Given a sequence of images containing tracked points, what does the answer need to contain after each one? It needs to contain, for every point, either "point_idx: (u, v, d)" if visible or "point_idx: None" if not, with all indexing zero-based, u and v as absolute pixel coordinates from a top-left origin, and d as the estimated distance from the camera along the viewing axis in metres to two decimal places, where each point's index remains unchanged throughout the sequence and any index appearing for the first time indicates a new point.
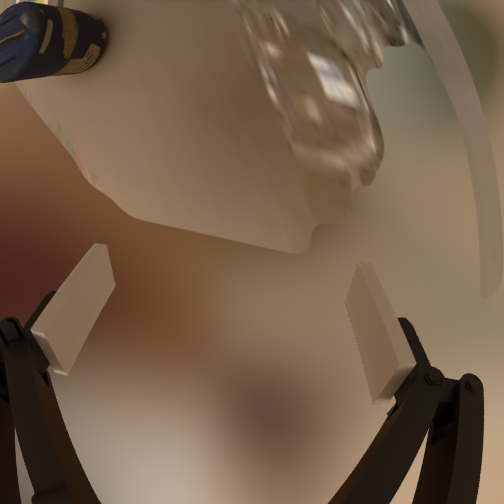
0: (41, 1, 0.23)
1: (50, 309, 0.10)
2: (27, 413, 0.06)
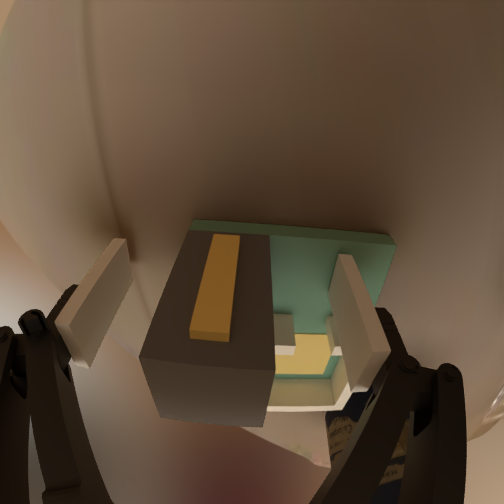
0: (307, 340, 0.19)
1: (74, 302, 0.11)
2: (45, 408, 0.07)
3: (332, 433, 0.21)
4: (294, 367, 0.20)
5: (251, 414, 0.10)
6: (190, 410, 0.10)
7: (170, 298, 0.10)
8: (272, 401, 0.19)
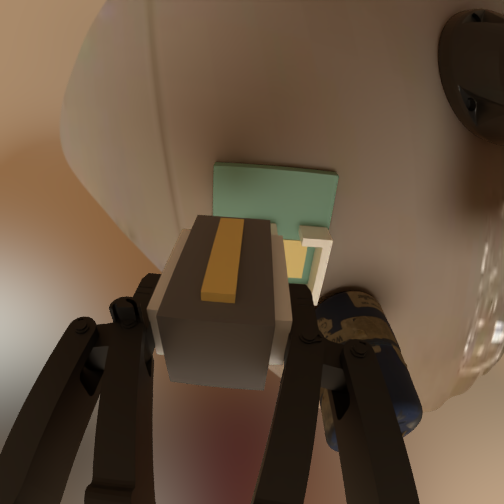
0: (287, 245, 0.29)
1: (163, 288, 0.12)
2: (118, 402, 0.07)
3: None
4: None
5: (254, 374, 0.11)
6: (198, 371, 0.11)
7: (183, 269, 0.12)
8: None
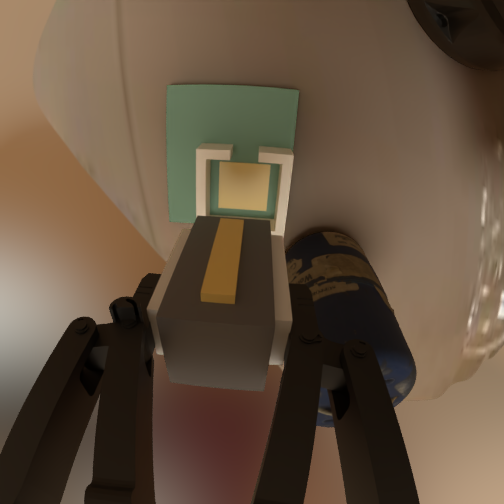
0: (247, 170, 0.26)
1: (163, 288, 0.12)
2: (118, 402, 0.07)
3: None
4: (241, 201, 0.27)
5: (254, 375, 0.11)
6: (198, 372, 0.11)
7: (183, 270, 0.12)
8: None
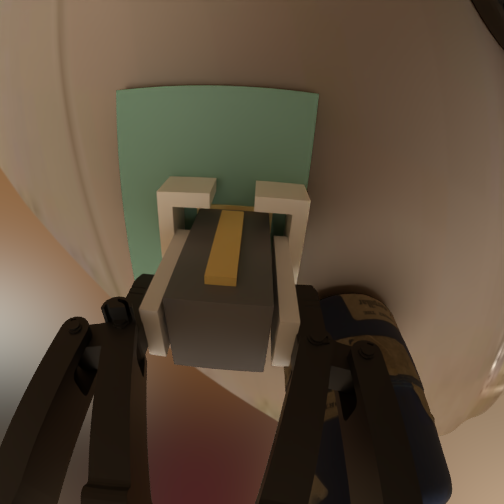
0: None
1: (155, 289, 0.12)
2: (112, 402, 0.07)
3: None
4: None
5: (253, 355, 0.12)
6: (201, 353, 0.12)
7: (187, 257, 0.13)
8: None
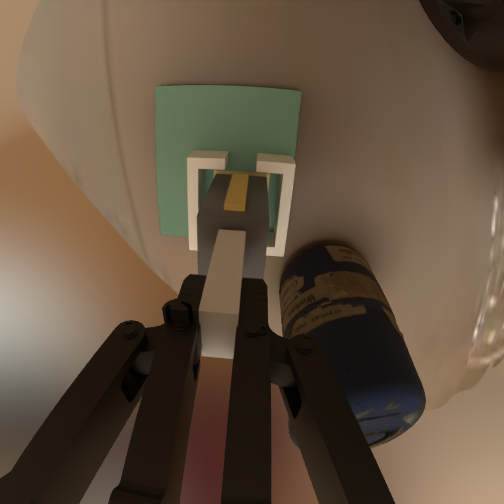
0: None
1: (211, 289, 0.12)
2: (160, 407, 0.07)
3: (282, 297, 0.26)
4: None
5: (256, 263, 0.18)
6: None
7: (210, 197, 0.19)
8: None
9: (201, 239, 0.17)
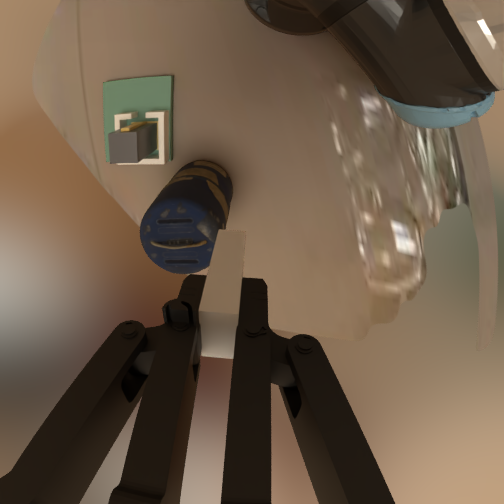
0: None
1: (211, 289, 0.12)
2: (160, 407, 0.07)
3: None
4: None
5: (133, 154, 0.34)
6: (118, 155, 0.34)
7: (119, 129, 0.35)
8: None
9: (110, 144, 0.33)
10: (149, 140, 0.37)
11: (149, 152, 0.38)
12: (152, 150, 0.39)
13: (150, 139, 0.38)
